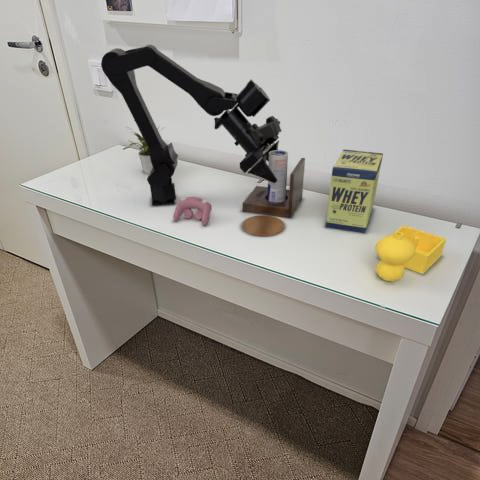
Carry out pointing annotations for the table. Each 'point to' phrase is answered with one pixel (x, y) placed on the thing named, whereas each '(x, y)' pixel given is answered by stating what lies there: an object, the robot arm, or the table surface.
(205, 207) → the video game controller
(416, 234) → the bath set
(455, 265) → the table surface
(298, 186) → the panel
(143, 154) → the house plant
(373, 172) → the protein box
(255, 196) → the can rack
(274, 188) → the beverage can
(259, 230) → the cork coaster
